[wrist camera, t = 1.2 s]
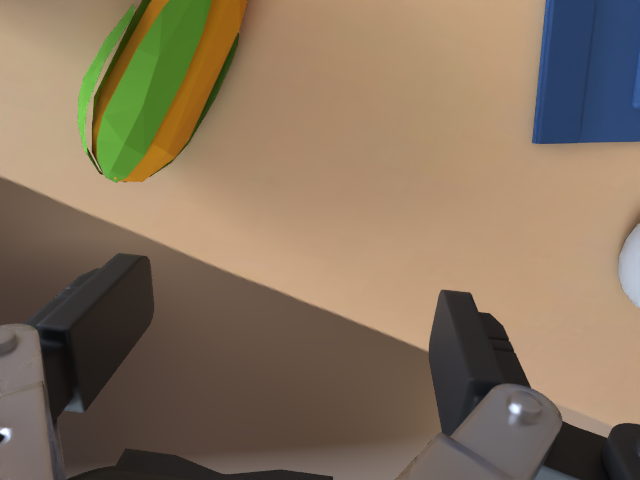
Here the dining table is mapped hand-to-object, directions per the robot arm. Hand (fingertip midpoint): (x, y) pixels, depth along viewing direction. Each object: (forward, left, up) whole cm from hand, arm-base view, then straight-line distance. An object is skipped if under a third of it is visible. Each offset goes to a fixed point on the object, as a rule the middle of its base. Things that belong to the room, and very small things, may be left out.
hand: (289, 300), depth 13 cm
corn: (-10, -7, -25) cm, 28 cm away
